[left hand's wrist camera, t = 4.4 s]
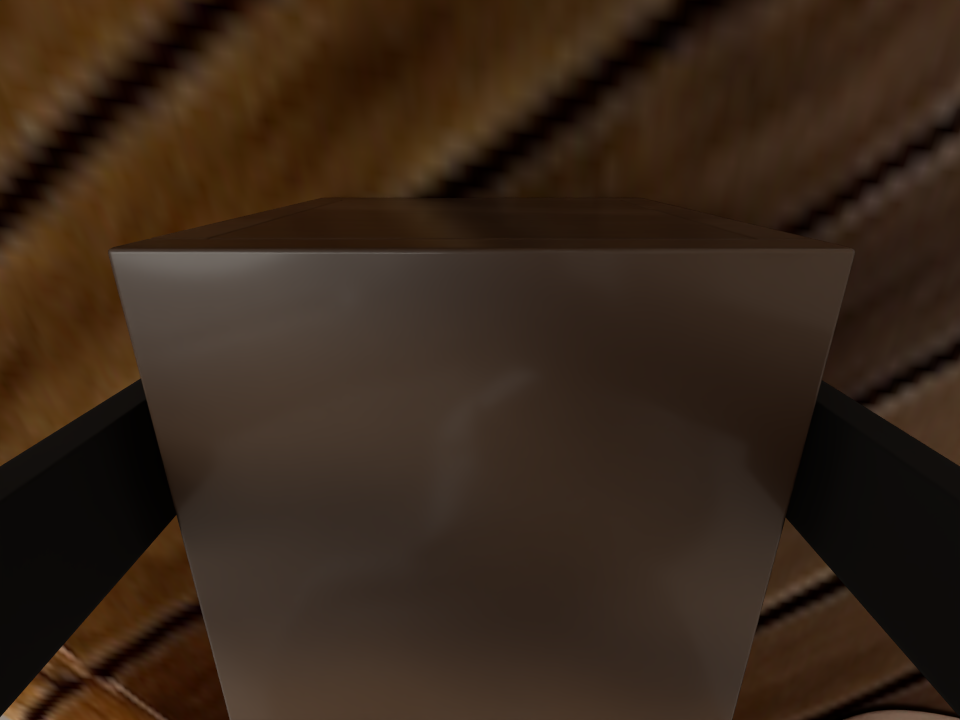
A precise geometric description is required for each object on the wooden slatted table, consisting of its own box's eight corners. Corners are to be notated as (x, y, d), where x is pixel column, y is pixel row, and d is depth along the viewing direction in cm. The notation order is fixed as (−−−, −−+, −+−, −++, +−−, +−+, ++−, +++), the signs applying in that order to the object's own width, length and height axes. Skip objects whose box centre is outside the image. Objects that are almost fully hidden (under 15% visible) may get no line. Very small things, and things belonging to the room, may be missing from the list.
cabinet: (601, 566, 24) (693, 874, 13) (360, 566, 24) (268, 872, 13) (642, 197, 18) (858, 248, 8) (320, 197, 18) (103, 248, 8)
